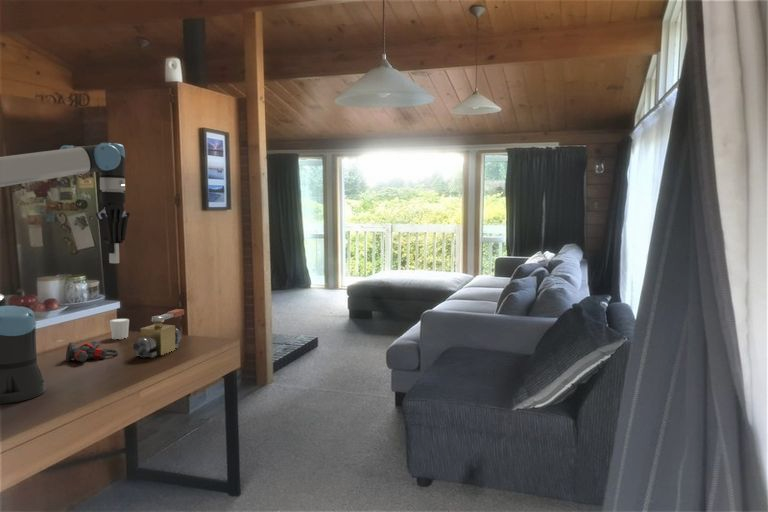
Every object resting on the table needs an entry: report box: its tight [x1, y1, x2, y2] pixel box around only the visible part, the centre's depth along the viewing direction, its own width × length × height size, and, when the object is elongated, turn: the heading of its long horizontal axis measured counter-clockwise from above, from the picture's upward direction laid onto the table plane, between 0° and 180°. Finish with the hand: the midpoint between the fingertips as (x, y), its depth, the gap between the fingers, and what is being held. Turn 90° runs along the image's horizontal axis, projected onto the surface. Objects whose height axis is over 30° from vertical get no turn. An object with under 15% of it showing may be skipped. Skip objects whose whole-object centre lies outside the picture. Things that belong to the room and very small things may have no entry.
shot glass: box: [109, 318, 130, 340], centre depth 214 cm, size 7×7×7 cm
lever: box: [151, 308, 185, 324], centre depth 200 cm, size 16×4×2 cm, turn 168°
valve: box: [65, 340, 119, 363], centre depth 191 cm, size 6×26×15 cm
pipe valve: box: [132, 322, 182, 359], centre depth 195 cm, size 18×8×11 cm, turn 165°
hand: (114, 262), depth 184 cm, fingers closed
